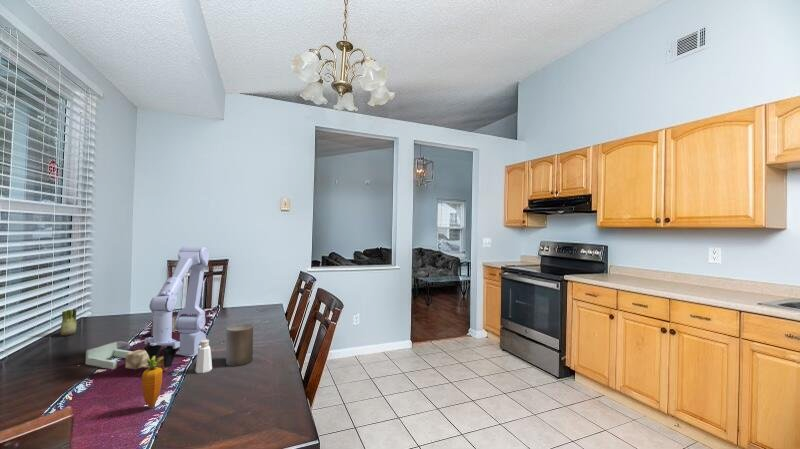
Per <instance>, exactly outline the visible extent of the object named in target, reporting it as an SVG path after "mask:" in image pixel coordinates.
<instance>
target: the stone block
mask: <svg viewBox="0 0 800 449" xmlns="http://www.w3.org/2000/svg"><path fill="white" fill-rule="evenodd" d="M115 342H116V343H117V349H121V350H127V351H130V348H131V345H130V343H129V342H127V341H122V340H119V341H113V342H108V343H105V344H103V345H101V346H104V345H108V344H111V343H115ZM101 346H96V347H92V348H88V349H86V351H87V350H91V349H94V348H98V347H101Z"/></svg>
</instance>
